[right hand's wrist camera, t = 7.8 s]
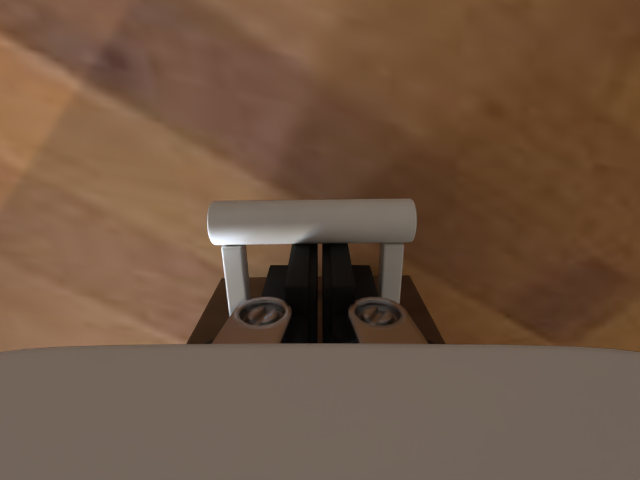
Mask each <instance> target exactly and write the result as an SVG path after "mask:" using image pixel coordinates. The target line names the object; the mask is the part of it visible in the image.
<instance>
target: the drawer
mask: <svg viewBox="0 0 640 480" xmlns="http://www.w3.org/2000/svg"><path fill="white" fill-rule="evenodd" d="M207 227H208V234H209V237H210V240H211V242H212V243H213V244H214V245H223V246H222V248H221V250H222V258H223V266H224V275H225V278H222V279H221V281H220V282H219V284H218V286H217V288H216V290H215V292H214V294H213V295H212V297H211V299H210V301H209V303H208V305H207V307H206V309H205V310H204V312H203V314H202V316H201V318H200V320H199V322H198V323H197V325H196V327H195V329H194V331H193V333H192V335H191V336H190V338H189V340H188V342H187V344H205V343H207V342H209V341H211V340H213V339H215V338H216V336H217V335H218V333H219V332H220V330H221V329H222V327H223V326H224V324H225V323H226V321H227V320H228V318H229V317H230V315H231V314H232V313H233V311H234V310H235V309H236V307H237V306H238V305H240V304H241V303H243V302H245V301H247V300H250V299H253V298H259V297H261V295H262V292H263V288H264V285H265V282H266V278H267V277H264V278H249V275H248V264H247V254H246V245H249V244H327V243H380V259H379V276H373V278H374V282H375V285H376V288H377V292H378V295H379V297H381V298H387V299H390V300H393V301H395V302H397V303H399V304H400V305H402V306H403V307H404V309H405V310H406V311H407V313H408V314H409V315H410V317H411V318H412V320H413V321H414V323H415V324H416V326H417V327H418V329H419V330H420V332H421V333H422V335H423V336H424V338H425V339H427V340H429V341H431V342H433V343H435V344H445V342H444V340H443V338H442V336H441V334H440V333H439V331H438V329H437V327H436V325H435V323H434V321H433V319H432V317H431V316H430V314H429V312H428V310H427V308H426V306H425V304H424V302H423V300H422V299H421V297H420V295H419V293H418V291H417V289H416V287H415V285H414V283H413V282H412V280H411V278H410V276H402V267H403V255H404V244H403V243H404V242H412V241H413V240H414V237H415V234H416V227H417V213H416V207H415V204H414V201H413V200H412V199H330V200H250V201H213V202H211V204H210V206H209V209H208V216H207ZM317 344H323V332H322V277H318V332H317Z"/></svg>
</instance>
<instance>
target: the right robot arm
mask: <svg viewBox="0 0 640 480" xmlns="http://www.w3.org/2000/svg"><path fill="white" fill-rule="evenodd" d="M317 332H318V244H292V249H291V254H290V259H289V265H271V266H270V268H269V272H268V275H267V278H266V282H265V285H264V288H263V292H262V295H261V297H259V298H253V299H250V300H247V301H245V302H243V303H241V304H240V305H238V306H237V307H236V309H235V310H234V311H233V313H232V314H231V315H230V317H229V318H228V320H227V321H226V323H225V324H224V326H223V327H222V329H221V330H220V332H219V333H218V335H217V336H216V338H215V339H213V340H211V341H209V342H207V343H205V344H167V345H102V346H69V347H48V348H34V349H21V350H13V351H5V352H0V480H640V352H635V351H627V350H618V349H608V348H591V347H574V346H536V345H477V344H435V343H433V342H431V341H429V340H427V339H425V338H424V336H423V335H422V333H421V332H420V330H419V329H418V327H417V326H416V324H415V323H414V321H413V320H412V318H411V317H410V315H409V314H408V313H407V311H406V310H405V309H404V307H403V306H402V305H400V304H399V303H397V302H395V301H393V300H390V299H387V298H381V297H379V295H378V292H377V288H376V285H375V282H374V278H373V275H372V272H371V268H370V266H369V265H351V259H350V254H349V249H348V244H347V243H327V244H322V332H323V344H317Z"/></svg>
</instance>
